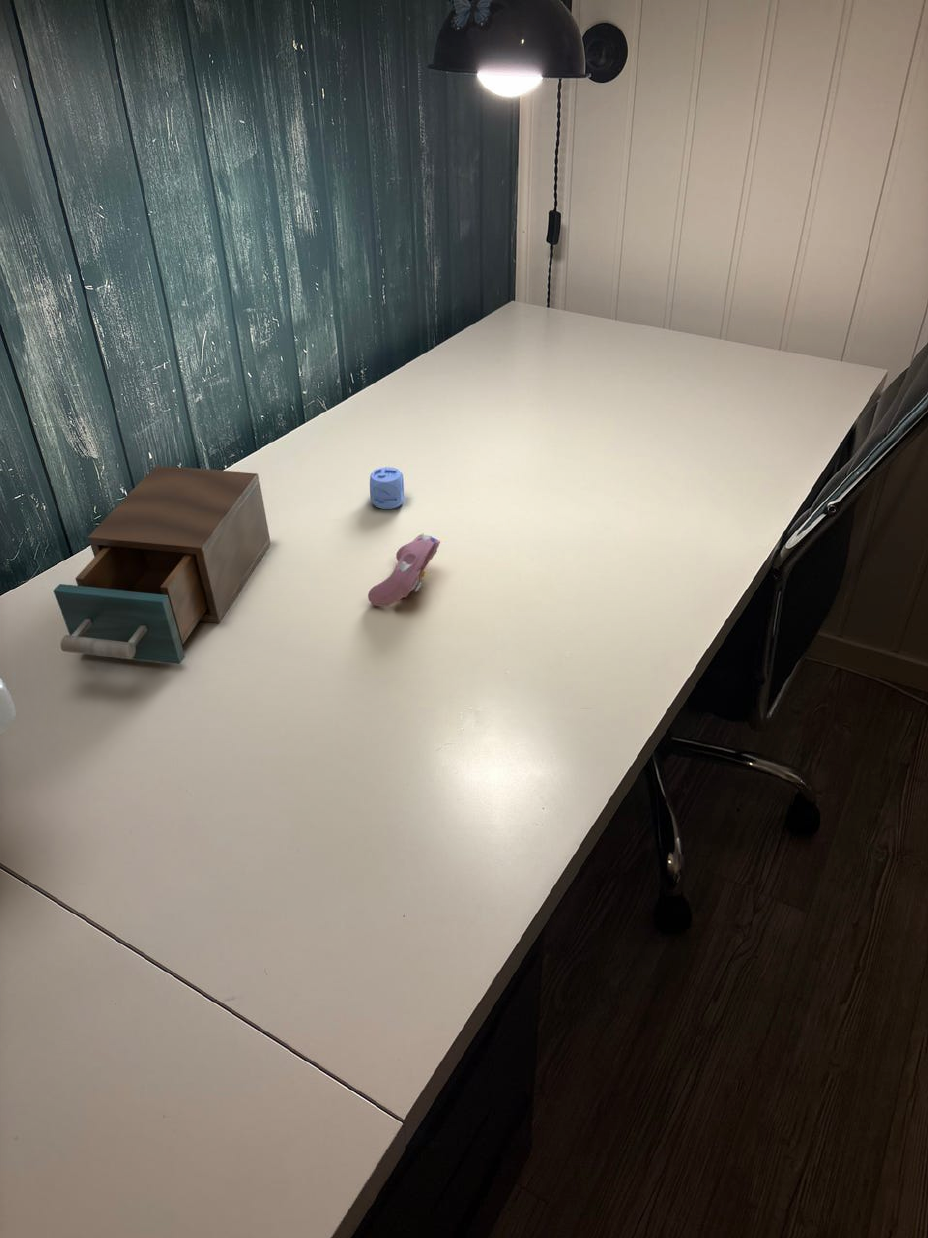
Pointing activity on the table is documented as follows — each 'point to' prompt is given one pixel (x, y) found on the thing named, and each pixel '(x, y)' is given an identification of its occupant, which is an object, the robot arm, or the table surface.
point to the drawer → (133, 604)
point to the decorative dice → (387, 488)
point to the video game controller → (405, 571)
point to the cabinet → (195, 526)
